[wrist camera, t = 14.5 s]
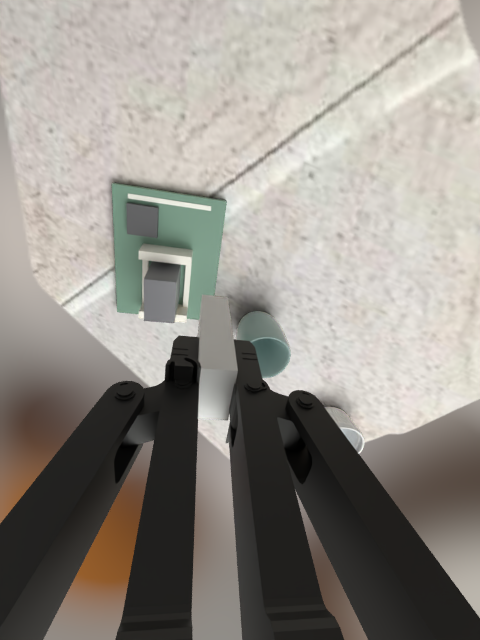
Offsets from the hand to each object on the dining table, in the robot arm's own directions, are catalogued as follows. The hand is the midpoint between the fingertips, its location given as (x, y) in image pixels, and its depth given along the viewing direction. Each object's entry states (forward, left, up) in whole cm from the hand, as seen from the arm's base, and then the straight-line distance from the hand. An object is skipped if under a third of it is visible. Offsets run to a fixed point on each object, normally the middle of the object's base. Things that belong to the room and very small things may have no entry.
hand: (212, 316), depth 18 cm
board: (+7, -6, -29) cm, 31 cm away
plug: (+10, -6, -28) cm, 30 cm away
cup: (+17, +10, -30) cm, 36 cm away
